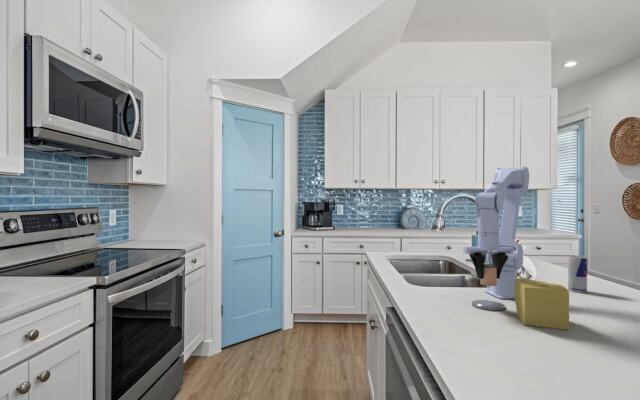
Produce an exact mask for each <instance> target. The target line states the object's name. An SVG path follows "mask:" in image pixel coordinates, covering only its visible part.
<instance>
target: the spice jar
mask: <svg viewBox="0 0 640 400" xmlns="http://www.w3.org/2000/svg"><path fill="white" fill-rule="evenodd" d="M479 279H480V278H479ZM479 282H480V285H482V286H486V287H487V286H496V285H497V267H496V264H492V263H488V262H484V276H483V279H480V280H479Z"/></svg>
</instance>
